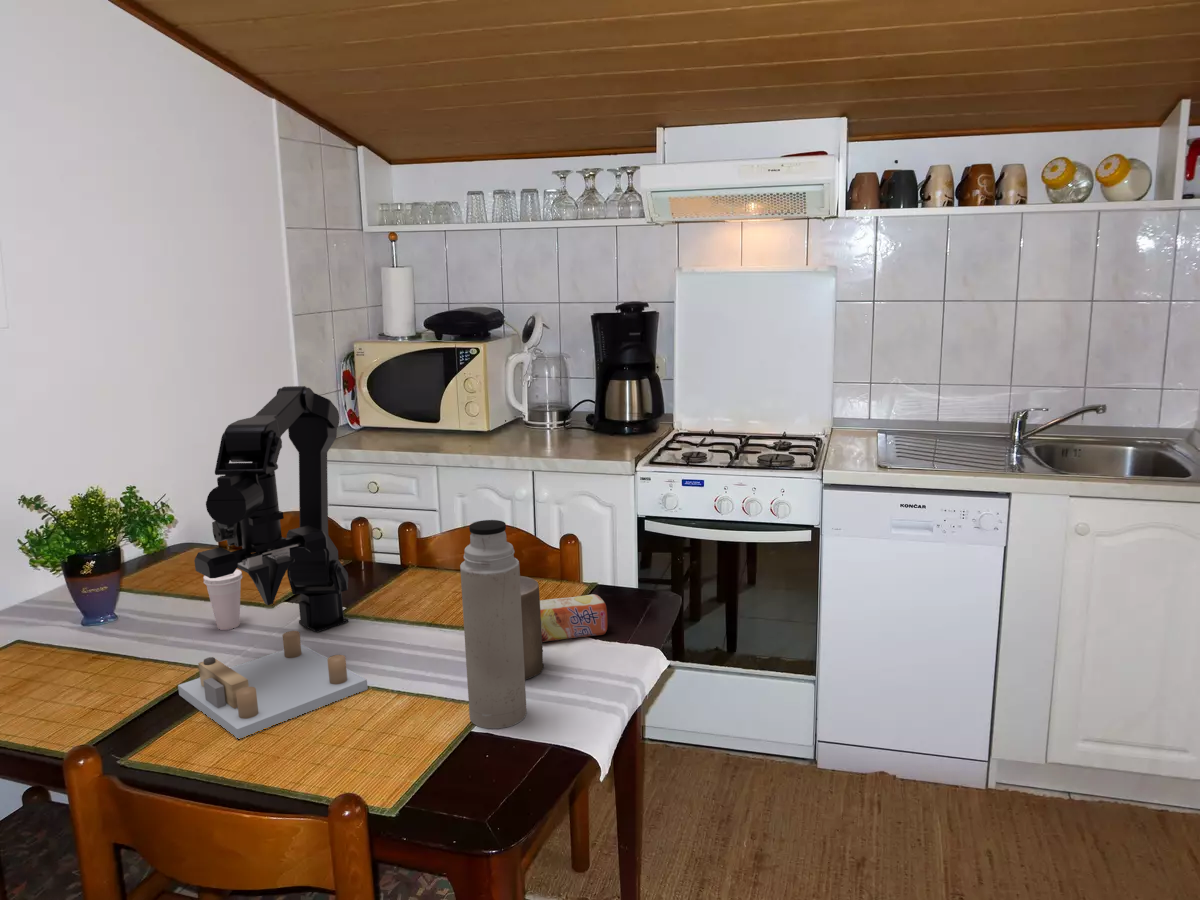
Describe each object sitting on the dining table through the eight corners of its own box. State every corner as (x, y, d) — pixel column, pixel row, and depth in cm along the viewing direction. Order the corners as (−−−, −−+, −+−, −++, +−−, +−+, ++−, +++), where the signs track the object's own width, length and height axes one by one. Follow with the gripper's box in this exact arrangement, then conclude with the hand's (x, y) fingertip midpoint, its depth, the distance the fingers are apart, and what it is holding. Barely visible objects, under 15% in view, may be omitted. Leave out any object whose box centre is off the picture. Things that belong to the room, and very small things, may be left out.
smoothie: (234, 634, 164) (225, 557, 161) (201, 632, 165) (192, 555, 162) (254, 620, 170) (246, 545, 167) (222, 618, 171) (214, 544, 168)
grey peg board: (302, 652, 155) (299, 623, 154) (367, 689, 141) (364, 657, 140) (179, 695, 141) (175, 663, 140) (238, 740, 127) (234, 705, 126)
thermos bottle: (484, 698, 137) (474, 513, 131) (535, 705, 134) (526, 517, 129) (459, 724, 130) (446, 529, 124) (512, 732, 127) (502, 533, 121)
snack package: (599, 623, 164) (598, 586, 163) (610, 638, 158) (609, 600, 156) (478, 639, 159) (476, 602, 157) (484, 655, 152) (482, 616, 151)
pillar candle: (552, 658, 150) (547, 569, 147) (531, 685, 141) (525, 590, 138) (495, 654, 152) (489, 566, 149) (471, 680, 143) (464, 586, 140)
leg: (201, 684, 140) (197, 659, 139) (216, 679, 142) (213, 654, 141) (234, 708, 133) (231, 682, 132) (250, 702, 134) (247, 676, 133)
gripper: (290, 485, 153) (299, 576, 156) (173, 510, 140) (186, 608, 143) (325, 496, 145) (334, 592, 148) (205, 523, 132) (217, 627, 135)
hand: (269, 604), depth 144 cm, fingers closed
